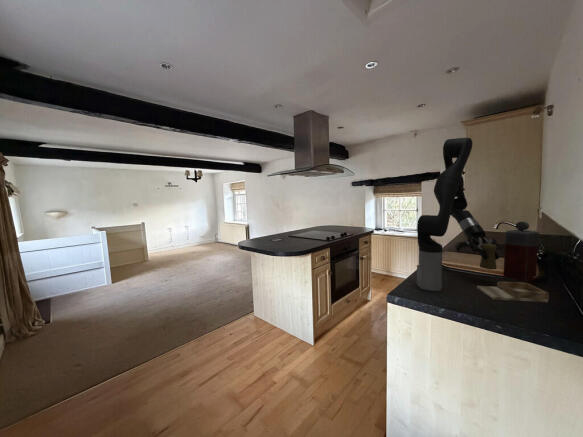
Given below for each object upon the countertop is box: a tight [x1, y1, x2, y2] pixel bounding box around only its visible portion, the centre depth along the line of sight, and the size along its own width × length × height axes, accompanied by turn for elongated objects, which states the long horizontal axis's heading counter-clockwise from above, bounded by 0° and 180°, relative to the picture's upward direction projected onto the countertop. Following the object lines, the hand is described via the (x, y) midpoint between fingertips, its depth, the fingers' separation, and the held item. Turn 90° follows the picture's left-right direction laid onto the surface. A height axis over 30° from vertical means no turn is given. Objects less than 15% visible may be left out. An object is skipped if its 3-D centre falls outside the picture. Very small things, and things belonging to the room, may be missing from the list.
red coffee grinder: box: [503, 220, 540, 283], centre depth 116 cm, size 9×11×28 cm
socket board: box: [476, 281, 550, 303], centre depth 98 cm, size 18×12×4 cm, turn 78°
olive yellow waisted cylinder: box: [479, 244, 498, 270], centre depth 108 cm, size 6×6×11 cm
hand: (492, 258), depth 106 cm, fingers closed on olive yellow waisted cylinder, 4 cm apart
